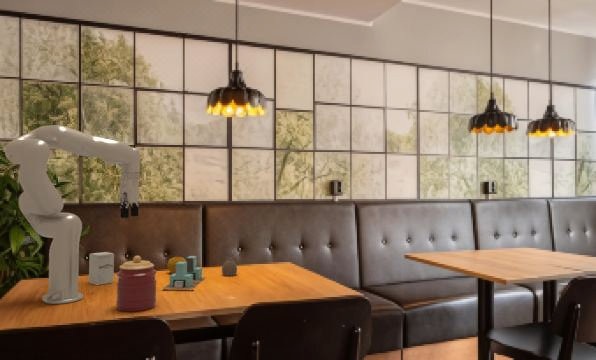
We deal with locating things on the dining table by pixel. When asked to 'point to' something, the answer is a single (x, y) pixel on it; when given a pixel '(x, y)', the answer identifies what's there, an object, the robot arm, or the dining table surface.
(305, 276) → the dining table surface
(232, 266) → the vase
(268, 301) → the dining table surface
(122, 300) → the canister
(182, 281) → the rail board
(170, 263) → the apple
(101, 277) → the supplement box
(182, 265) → the teal block toy
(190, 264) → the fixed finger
